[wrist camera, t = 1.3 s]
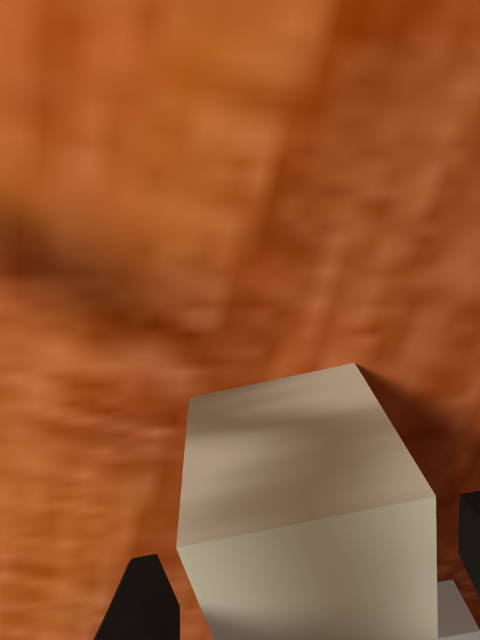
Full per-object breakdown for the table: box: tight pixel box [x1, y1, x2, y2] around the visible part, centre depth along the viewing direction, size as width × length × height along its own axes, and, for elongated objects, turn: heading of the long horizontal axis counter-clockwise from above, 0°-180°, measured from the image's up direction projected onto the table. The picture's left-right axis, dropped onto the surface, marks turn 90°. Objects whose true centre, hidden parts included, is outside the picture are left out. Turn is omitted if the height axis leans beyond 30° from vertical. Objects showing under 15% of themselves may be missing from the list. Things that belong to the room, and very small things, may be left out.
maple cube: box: [176, 363, 438, 640], centre depth 11 cm, size 5×5×5 cm
